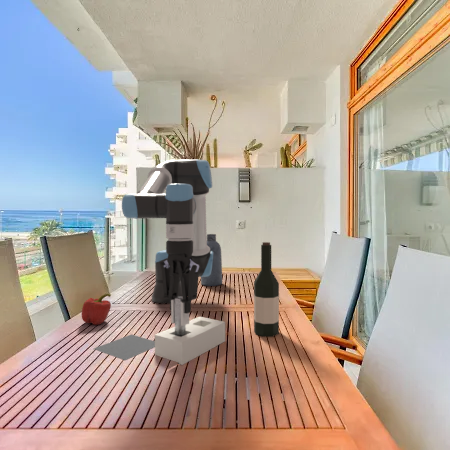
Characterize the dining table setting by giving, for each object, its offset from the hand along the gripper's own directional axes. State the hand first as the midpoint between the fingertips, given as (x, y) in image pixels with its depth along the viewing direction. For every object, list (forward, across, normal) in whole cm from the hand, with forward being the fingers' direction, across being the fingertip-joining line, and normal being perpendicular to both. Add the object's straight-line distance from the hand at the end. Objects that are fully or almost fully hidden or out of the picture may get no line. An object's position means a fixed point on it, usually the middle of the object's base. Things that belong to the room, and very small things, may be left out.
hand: (180, 323), depth 94 cm
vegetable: (+9, -44, +4) cm, 45 cm away
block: (+9, 0, +5) cm, 10 cm away
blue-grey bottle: (+9, -50, +82) cm, 97 cm away
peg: (+5, 0, 0) cm, 5 cm away
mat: (+9, -16, -5) cm, 19 cm away
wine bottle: (+9, +12, +29) cm, 33 cm away
